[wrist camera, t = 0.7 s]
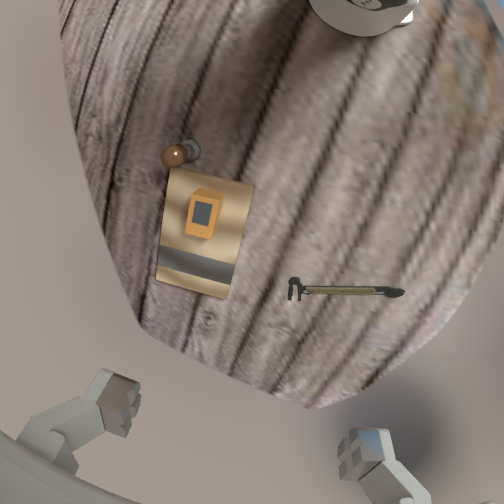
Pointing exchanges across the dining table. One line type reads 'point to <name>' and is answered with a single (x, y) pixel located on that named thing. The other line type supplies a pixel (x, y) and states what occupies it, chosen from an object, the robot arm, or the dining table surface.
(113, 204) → the dining table surface
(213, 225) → the orange box
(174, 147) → the brown goblet
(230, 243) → the panel
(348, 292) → the tactical tomahawk
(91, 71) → the dining table surface
